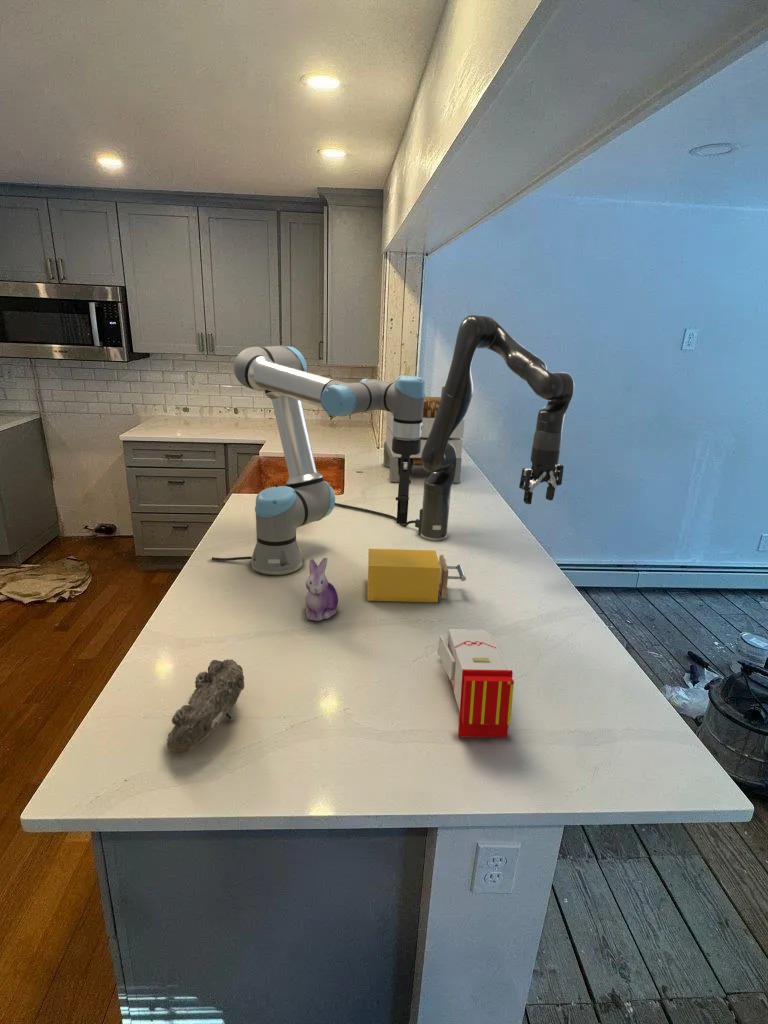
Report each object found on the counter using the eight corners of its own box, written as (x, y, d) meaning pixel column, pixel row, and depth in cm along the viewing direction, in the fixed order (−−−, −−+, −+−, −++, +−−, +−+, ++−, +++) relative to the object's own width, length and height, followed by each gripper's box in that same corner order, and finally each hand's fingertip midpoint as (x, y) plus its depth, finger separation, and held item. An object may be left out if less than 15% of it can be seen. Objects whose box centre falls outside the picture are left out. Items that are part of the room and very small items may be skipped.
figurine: (311, 626, 140) (311, 571, 135) (297, 607, 148) (296, 554, 143) (346, 618, 144) (347, 564, 139) (330, 600, 152) (331, 549, 147)
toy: (488, 613, 130) (523, 677, 101) (484, 667, 133) (517, 744, 104) (435, 612, 130) (455, 676, 101) (432, 666, 133) (451, 743, 103)
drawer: (459, 581, 164) (462, 555, 162) (465, 598, 155) (468, 571, 152) (380, 579, 164) (381, 553, 161) (381, 596, 154) (382, 568, 151)
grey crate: (382, 463, 289) (386, 382, 275) (445, 464, 293) (451, 384, 279) (390, 482, 257) (394, 392, 243) (460, 483, 261) (468, 394, 247)
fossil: (192, 660, 117) (244, 628, 112) (224, 691, 120) (276, 661, 115) (142, 746, 98) (202, 712, 93) (182, 779, 101) (242, 748, 96)
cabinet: (433, 583, 165) (435, 550, 162) (437, 602, 154) (440, 567, 151) (367, 581, 164) (368, 548, 161) (367, 600, 154) (368, 565, 150)
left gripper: (422, 450, 135) (416, 532, 142) (420, 428, 158) (415, 500, 166) (391, 448, 135) (386, 530, 143) (393, 427, 159) (389, 498, 166)
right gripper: (554, 441, 163) (546, 494, 169) (517, 445, 156) (510, 500, 162) (574, 447, 157) (565, 502, 163) (537, 451, 150) (529, 509, 156)
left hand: (401, 514), depth 154 cm, fingers open, 13 cm apart
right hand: (538, 501), depth 162 cm, fingers open, 8 cm apart
